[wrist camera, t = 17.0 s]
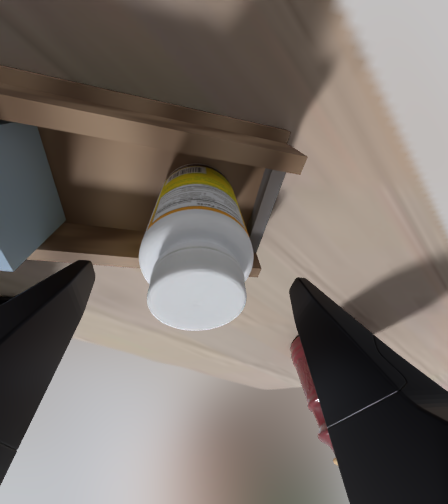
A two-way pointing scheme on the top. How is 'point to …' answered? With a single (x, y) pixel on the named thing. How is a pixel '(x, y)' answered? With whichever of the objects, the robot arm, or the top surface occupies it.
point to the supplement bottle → (196, 251)
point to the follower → (25, 194)
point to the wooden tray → (136, 162)
